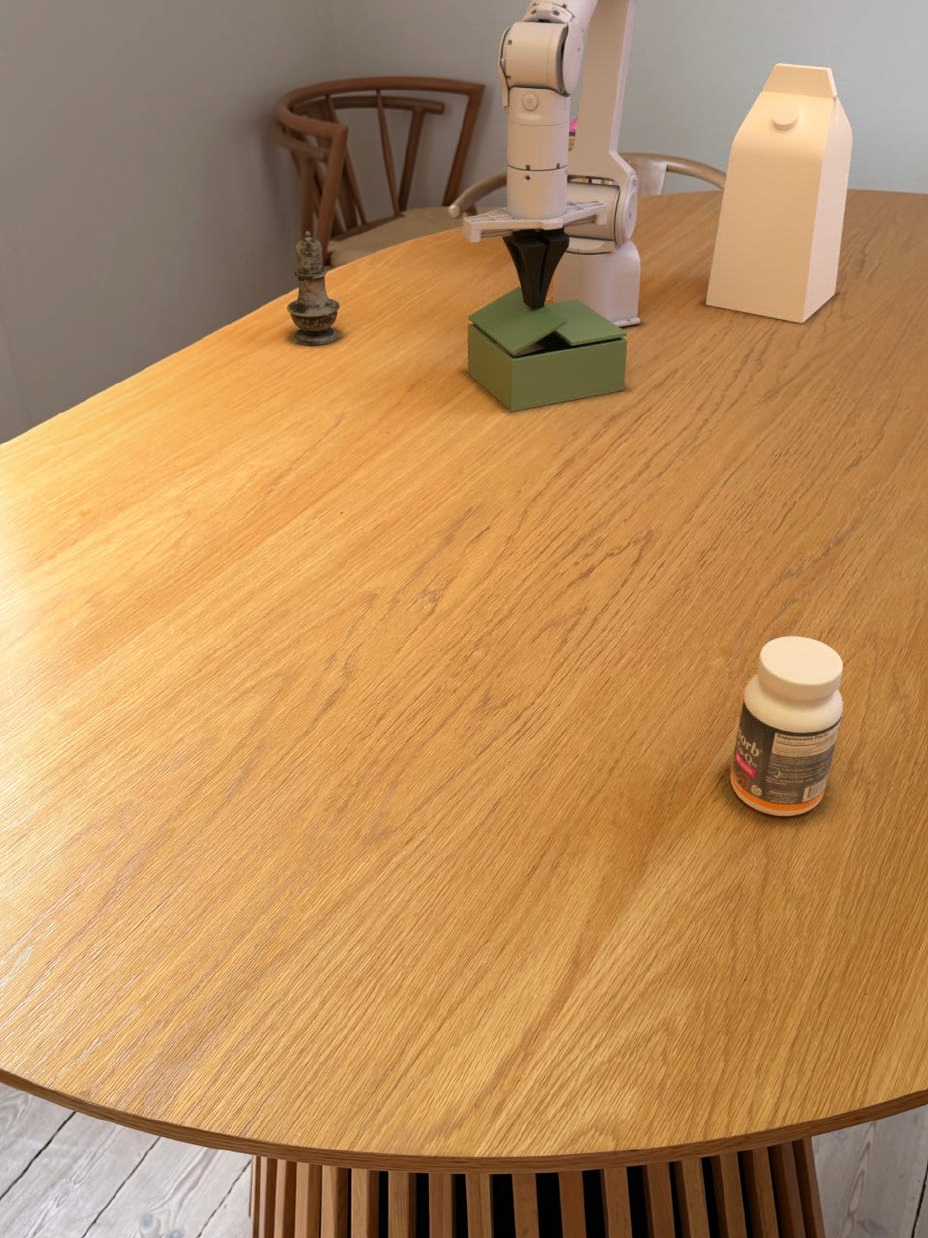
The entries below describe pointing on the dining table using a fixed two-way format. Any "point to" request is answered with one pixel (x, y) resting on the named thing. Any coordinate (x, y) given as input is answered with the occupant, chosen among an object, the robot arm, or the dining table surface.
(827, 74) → the milk
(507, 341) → the flap
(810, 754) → the pill bottle
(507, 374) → the carton
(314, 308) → the grey tall tiered piece
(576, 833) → the dining table surface
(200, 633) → the dining table surface
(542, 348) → the block
